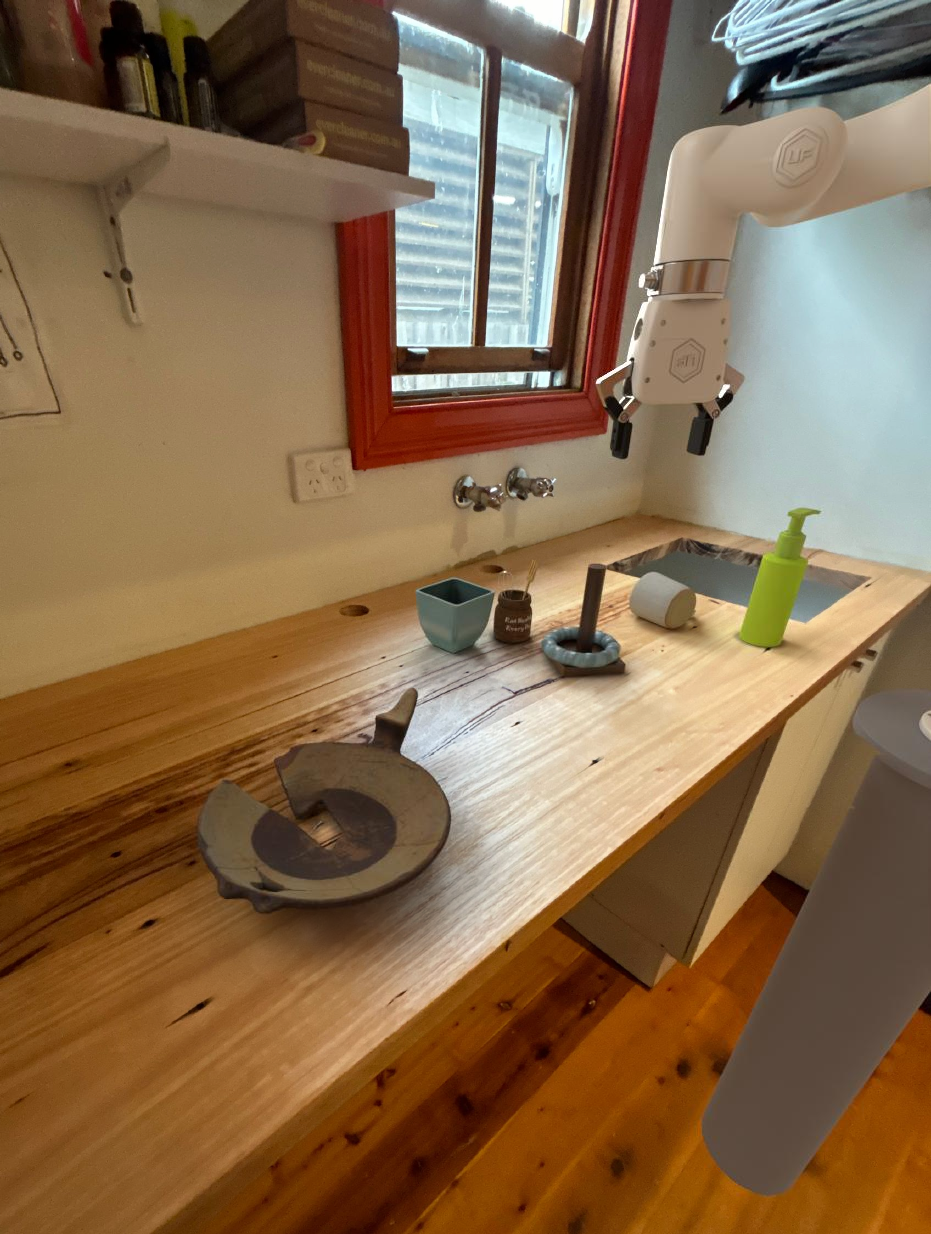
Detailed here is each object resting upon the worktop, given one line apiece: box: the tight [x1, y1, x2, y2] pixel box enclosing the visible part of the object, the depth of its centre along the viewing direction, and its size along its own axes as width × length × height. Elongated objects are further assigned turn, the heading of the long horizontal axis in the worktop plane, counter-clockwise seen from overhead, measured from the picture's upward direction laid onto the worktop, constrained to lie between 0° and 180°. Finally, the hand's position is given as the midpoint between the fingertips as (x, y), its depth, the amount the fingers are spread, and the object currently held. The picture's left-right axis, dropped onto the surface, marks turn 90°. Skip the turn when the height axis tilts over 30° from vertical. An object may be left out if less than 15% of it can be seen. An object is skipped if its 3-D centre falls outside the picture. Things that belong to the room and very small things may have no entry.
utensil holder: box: [492, 559, 540, 644], centre depth 95 cm, size 6×6×12 cm
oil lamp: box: [196, 687, 452, 915], centre depth 57 cm, size 22×30×8 cm
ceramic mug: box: [628, 571, 697, 629], centre depth 101 cm, size 11×8×8 cm
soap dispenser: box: [738, 507, 822, 648], centre depth 91 cm, size 6×7×20 cm
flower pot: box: [415, 577, 496, 654], centre depth 93 cm, size 9×9×9 cm
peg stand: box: [549, 562, 626, 678], centre depth 87 cm, size 9×9×14 cm
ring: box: [540, 626, 621, 668], centre depth 89 cm, size 11×11×2 cm
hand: (657, 455), depth 74 cm, fingers open, 9 cm apart
